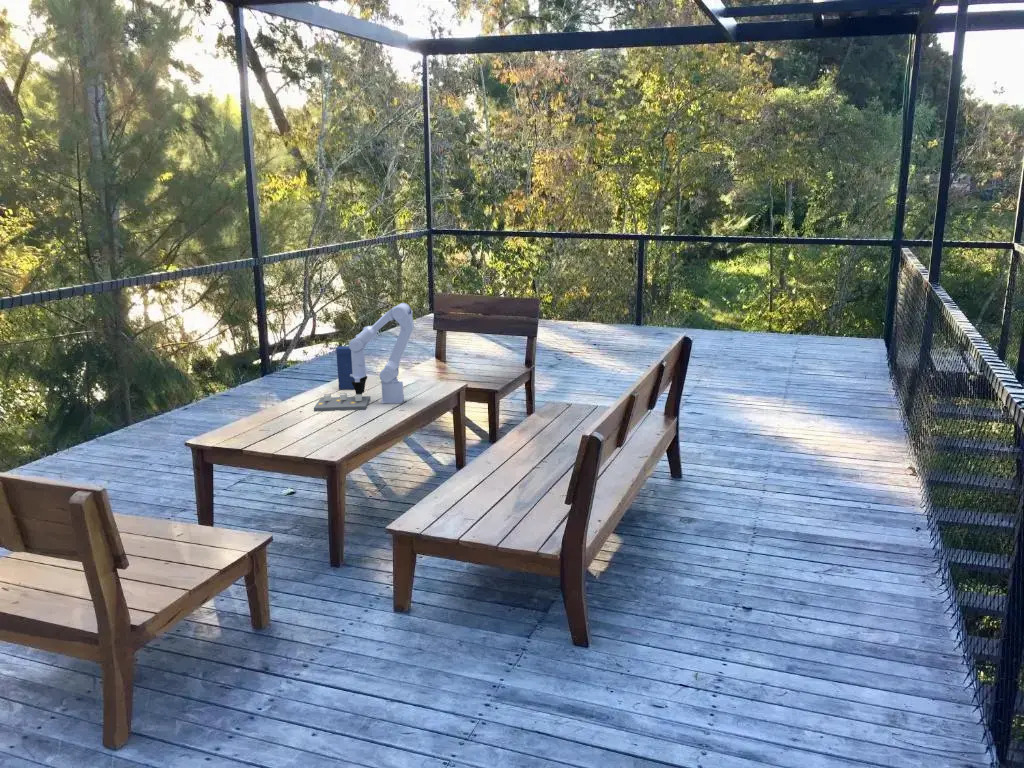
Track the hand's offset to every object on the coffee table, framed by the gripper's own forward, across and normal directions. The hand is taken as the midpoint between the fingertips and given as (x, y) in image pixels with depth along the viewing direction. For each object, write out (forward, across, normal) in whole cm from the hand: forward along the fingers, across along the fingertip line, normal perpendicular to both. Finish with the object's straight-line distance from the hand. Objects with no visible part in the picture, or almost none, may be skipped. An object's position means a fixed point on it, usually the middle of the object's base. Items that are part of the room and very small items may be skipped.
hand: (360, 394), depth 394 cm
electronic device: (+3, -26, -9) cm, 27 cm away
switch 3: (+1, +6, 0) cm, 6 cm away
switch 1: (+1, +3, -14) cm, 14 cm away
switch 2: (+1, +3, -7) cm, 8 cm away
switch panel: (+3, +6, -7) cm, 10 cm away
